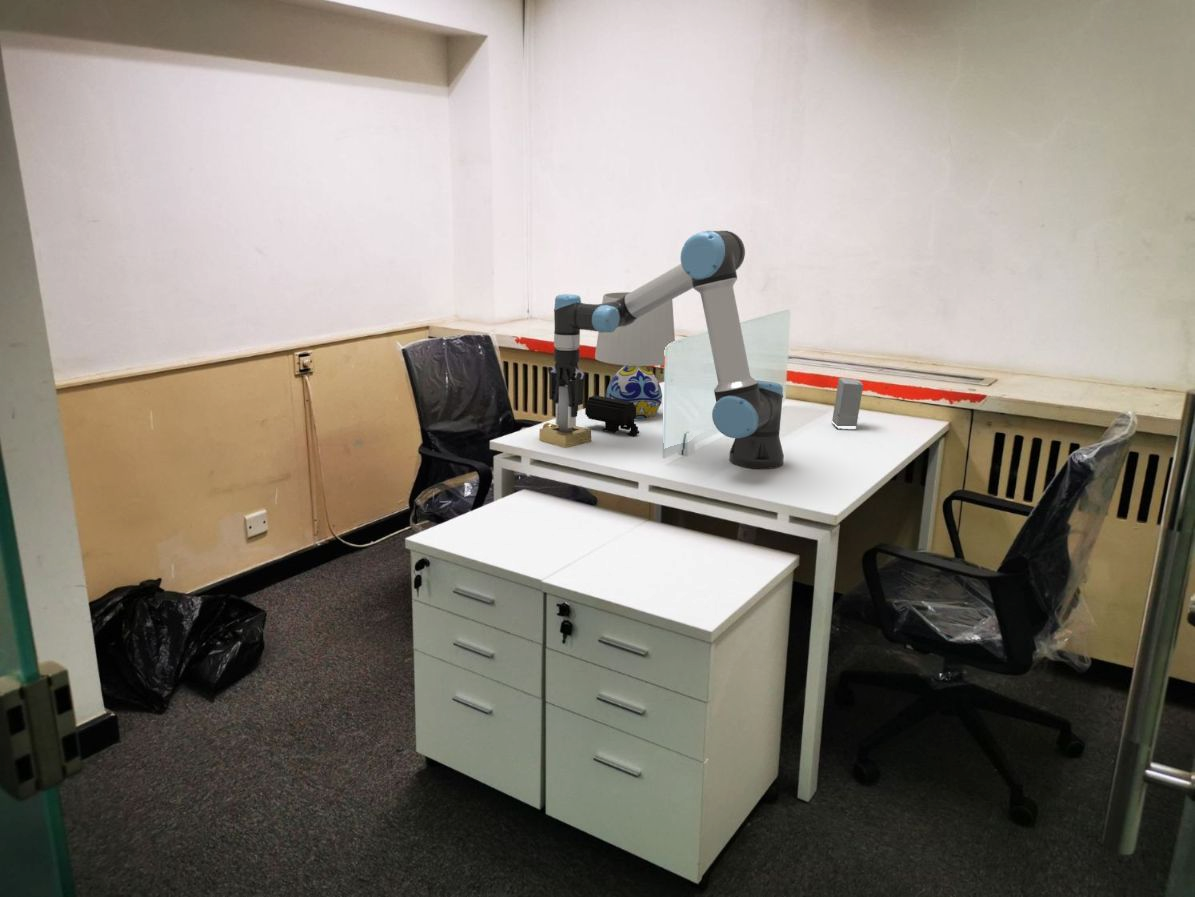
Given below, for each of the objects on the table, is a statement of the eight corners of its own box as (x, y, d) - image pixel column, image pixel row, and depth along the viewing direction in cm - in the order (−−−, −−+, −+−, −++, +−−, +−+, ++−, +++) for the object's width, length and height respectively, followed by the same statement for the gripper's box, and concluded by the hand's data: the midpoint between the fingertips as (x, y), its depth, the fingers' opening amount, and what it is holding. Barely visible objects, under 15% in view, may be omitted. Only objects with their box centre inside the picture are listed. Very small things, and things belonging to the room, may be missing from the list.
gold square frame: (591, 441, 272) (591, 428, 270) (565, 447, 264) (565, 434, 263) (559, 432, 280) (559, 420, 279) (533, 438, 272) (533, 425, 271)
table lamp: (604, 426, 290) (608, 300, 279) (585, 407, 315) (587, 291, 304) (684, 422, 296) (691, 300, 285) (659, 404, 322) (664, 291, 311)
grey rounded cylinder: (575, 432, 271) (576, 386, 267) (565, 435, 267) (566, 388, 264) (565, 429, 273) (566, 384, 270) (555, 432, 270) (555, 386, 267)
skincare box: (831, 423, 300) (835, 377, 296) (852, 424, 300) (857, 377, 296) (836, 430, 292) (841, 382, 288) (859, 430, 292) (864, 382, 287)
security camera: (630, 438, 275) (631, 406, 273) (583, 428, 286) (583, 397, 283) (643, 434, 281) (644, 403, 278) (596, 424, 291) (596, 394, 289)
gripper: (597, 350, 261) (595, 428, 267) (554, 343, 272) (554, 418, 278) (579, 353, 255) (577, 433, 262) (536, 345, 267) (536, 422, 273)
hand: (565, 425), depth 270 cm, fingers closed on grey rounded cylinder, 4 cm apart
